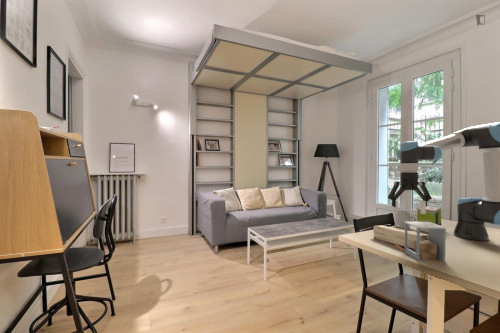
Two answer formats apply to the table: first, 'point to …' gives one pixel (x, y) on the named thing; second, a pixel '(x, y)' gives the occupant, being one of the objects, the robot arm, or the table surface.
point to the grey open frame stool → (434, 235)
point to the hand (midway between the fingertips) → (409, 213)
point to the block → (426, 249)
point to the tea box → (429, 216)
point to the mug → (403, 219)
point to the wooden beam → (397, 235)
